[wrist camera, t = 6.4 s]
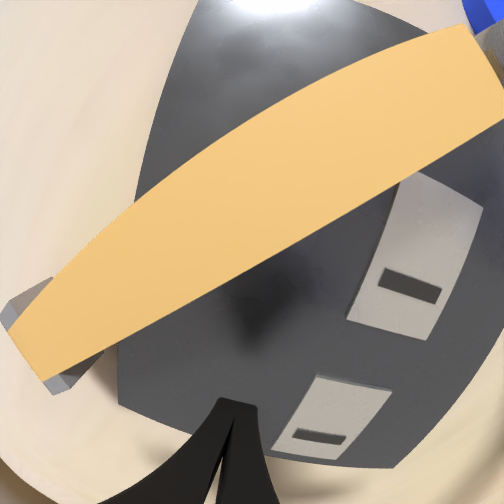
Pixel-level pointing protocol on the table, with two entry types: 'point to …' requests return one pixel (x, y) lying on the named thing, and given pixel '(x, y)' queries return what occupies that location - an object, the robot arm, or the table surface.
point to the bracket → (483, 13)
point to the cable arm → (258, 196)
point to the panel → (324, 258)
